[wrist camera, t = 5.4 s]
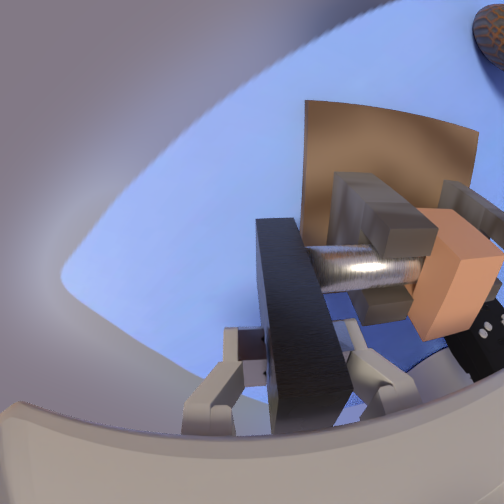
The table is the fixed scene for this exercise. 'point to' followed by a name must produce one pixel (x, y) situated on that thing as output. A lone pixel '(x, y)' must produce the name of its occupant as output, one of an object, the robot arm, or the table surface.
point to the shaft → (311, 319)
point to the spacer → (453, 277)
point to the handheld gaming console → (481, 343)
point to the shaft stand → (387, 189)
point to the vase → (491, 33)
